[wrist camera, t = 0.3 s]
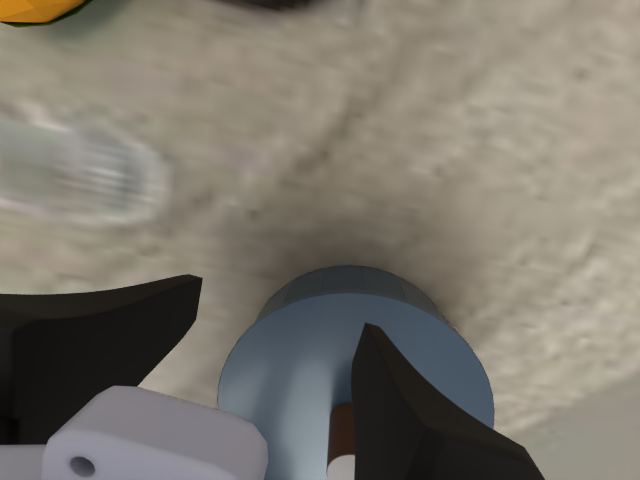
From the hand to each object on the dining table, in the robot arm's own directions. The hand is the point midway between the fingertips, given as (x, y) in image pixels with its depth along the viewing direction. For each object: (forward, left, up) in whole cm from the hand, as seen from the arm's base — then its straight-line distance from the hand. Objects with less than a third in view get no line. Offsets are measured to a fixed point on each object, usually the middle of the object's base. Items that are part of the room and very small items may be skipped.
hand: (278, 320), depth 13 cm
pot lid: (-8, -5, -5) cm, 11 cm away
